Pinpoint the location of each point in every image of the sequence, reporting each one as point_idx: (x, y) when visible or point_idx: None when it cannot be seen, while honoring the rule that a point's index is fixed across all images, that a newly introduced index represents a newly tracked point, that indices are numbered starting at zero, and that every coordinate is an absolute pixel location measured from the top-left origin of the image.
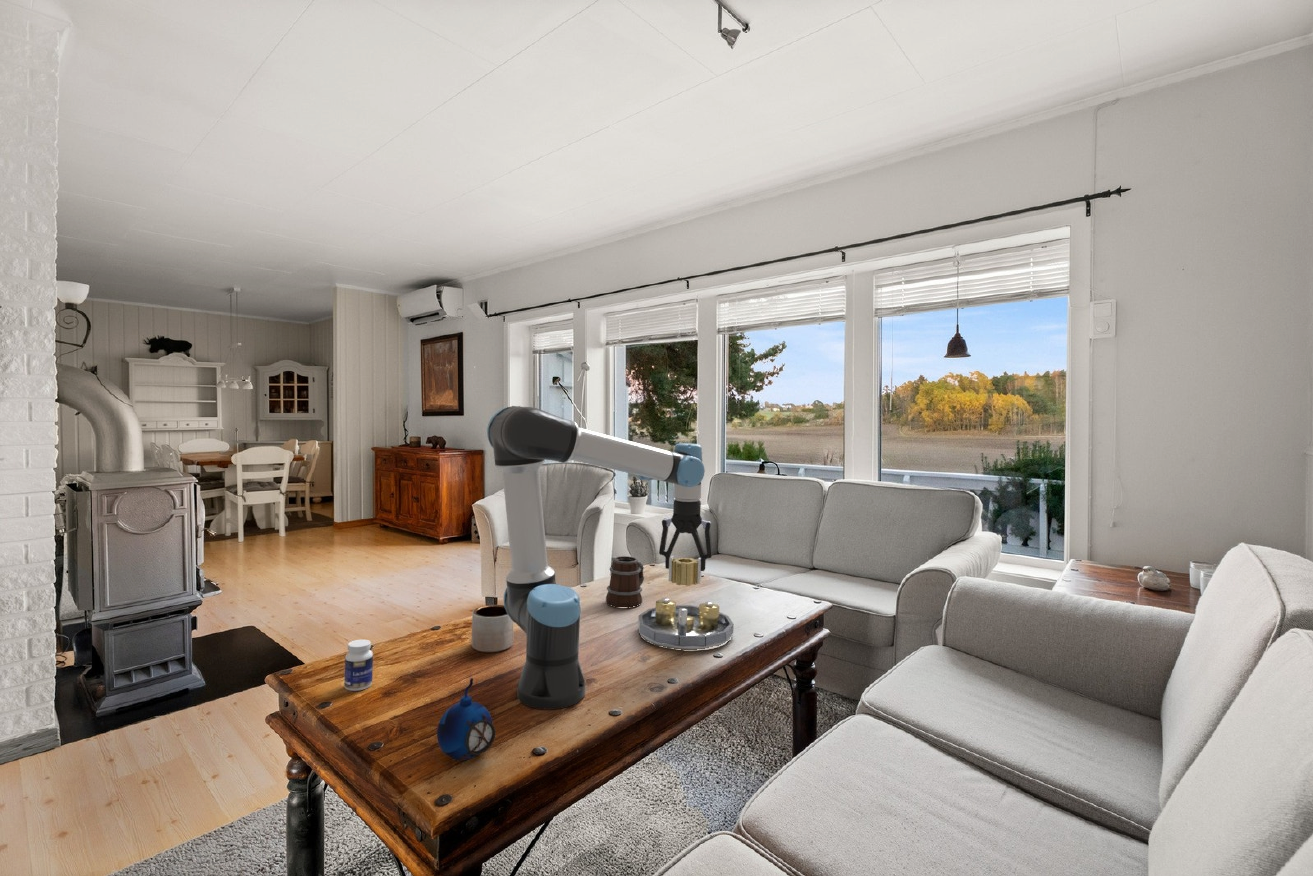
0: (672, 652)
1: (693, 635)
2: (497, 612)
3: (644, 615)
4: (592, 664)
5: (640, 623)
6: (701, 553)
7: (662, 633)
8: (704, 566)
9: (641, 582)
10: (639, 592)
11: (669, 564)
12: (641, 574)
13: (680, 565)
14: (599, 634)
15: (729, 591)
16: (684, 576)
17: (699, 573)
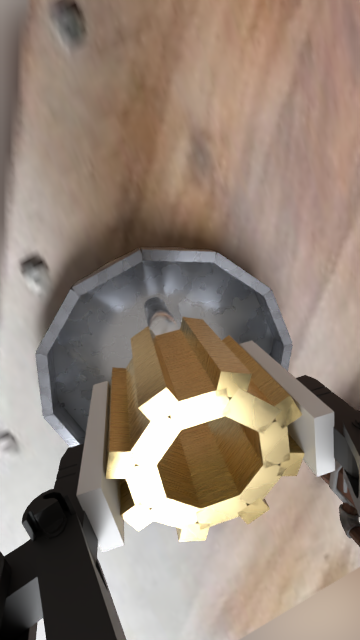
0: (150, 232)
1: (133, 335)
2: None
3: (280, 358)
4: (308, 48)
5: (272, 294)
6: (61, 569)
7: (194, 251)
8: (60, 474)
9: (343, 517)
10: (331, 472)
11: (301, 386)
12: (358, 536)
13: (216, 367)
14: (344, 256)
15: (169, 610)
16: (172, 352)
17: (93, 418)
